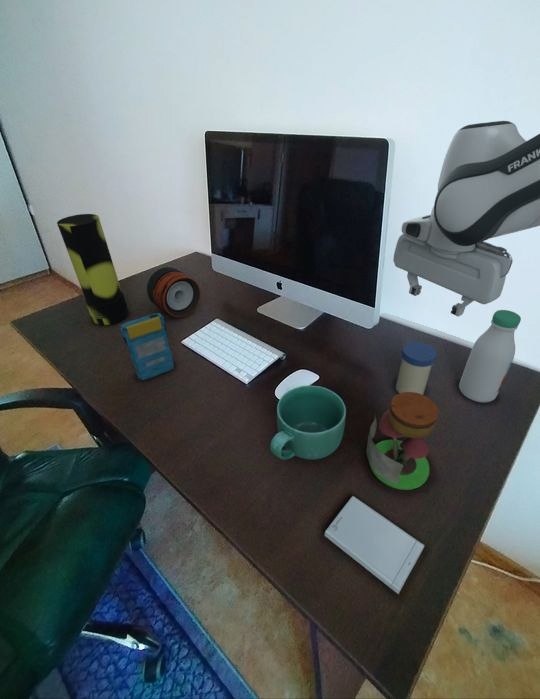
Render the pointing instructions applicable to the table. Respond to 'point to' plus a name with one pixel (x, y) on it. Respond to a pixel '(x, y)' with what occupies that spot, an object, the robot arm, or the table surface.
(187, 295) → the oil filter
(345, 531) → the hard drive
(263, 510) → the table surface
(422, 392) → the jar
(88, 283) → the container
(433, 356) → the jar lid
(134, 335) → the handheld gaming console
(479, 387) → the milk bottle
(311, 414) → the mug
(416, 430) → the toy burger
